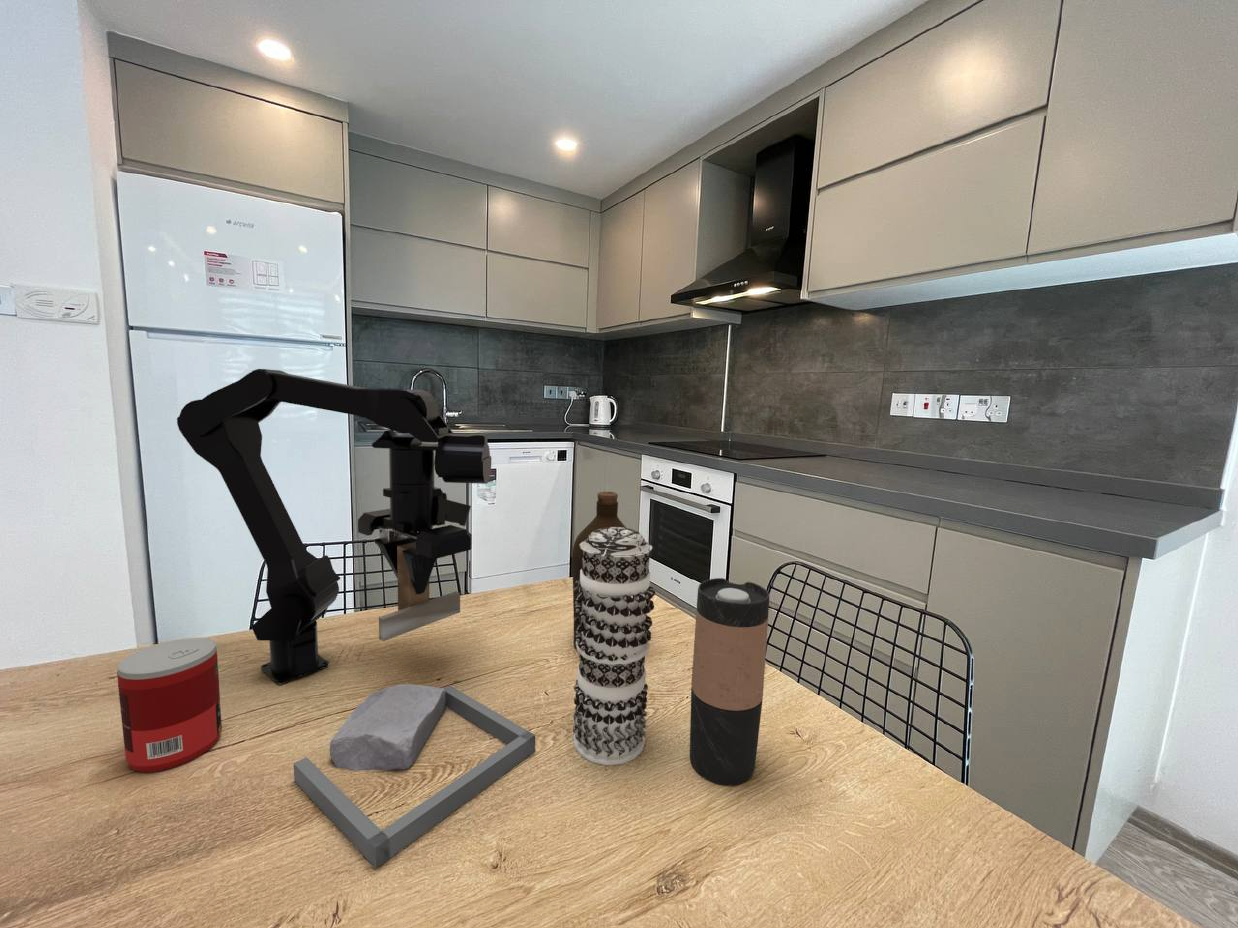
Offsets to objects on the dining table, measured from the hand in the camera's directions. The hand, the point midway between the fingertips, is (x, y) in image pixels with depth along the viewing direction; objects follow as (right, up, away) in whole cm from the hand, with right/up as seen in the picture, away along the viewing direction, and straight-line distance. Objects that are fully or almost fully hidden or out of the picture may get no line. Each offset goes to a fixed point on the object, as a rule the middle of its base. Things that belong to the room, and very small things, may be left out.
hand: (413, 590), depth 72 cm
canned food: (-19, -14, -16) cm, 29 cm away
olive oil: (+26, -12, +11) cm, 31 cm away
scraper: (0, -5, +1) cm, 5 cm away
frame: (+7, -14, -17) cm, 23 cm away
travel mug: (+40, -16, -15) cm, 46 cm away
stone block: (+2, -14, -12) cm, 19 cm away
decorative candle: (+28, -15, -12) cm, 34 cm away
